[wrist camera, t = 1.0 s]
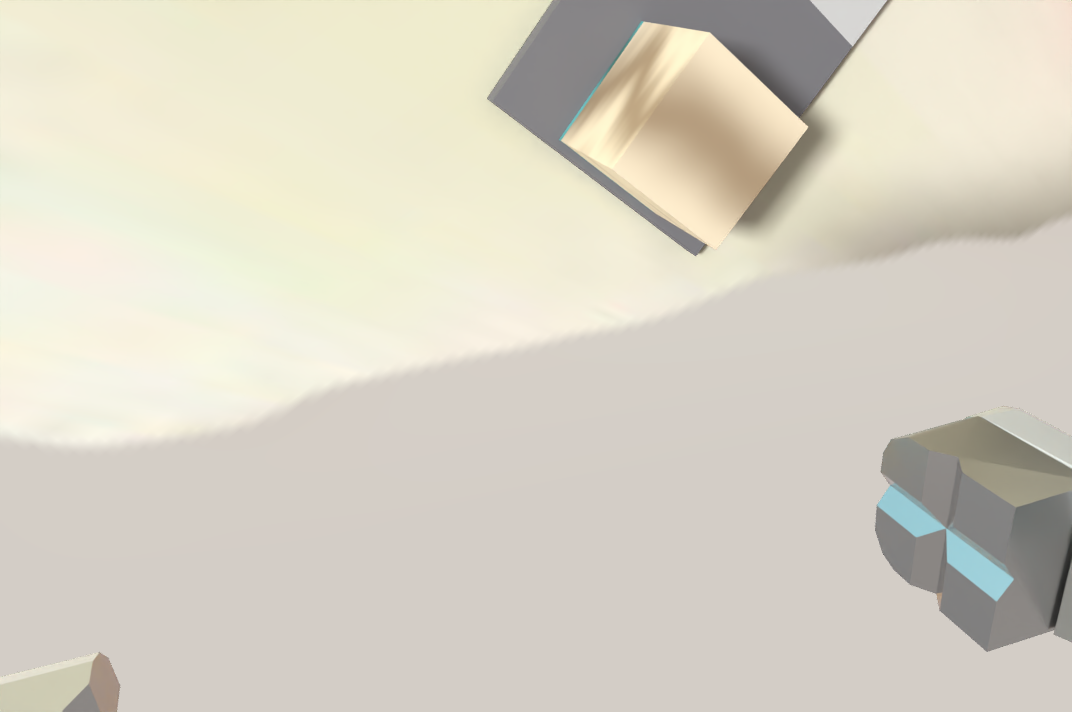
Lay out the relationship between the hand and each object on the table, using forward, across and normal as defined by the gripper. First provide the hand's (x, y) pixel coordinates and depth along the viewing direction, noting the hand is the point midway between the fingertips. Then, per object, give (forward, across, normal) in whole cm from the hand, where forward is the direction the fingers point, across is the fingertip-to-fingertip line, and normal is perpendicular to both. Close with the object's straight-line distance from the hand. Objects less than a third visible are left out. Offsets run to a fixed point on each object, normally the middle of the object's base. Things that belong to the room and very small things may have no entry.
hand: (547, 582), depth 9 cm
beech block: (+35, -18, +3) cm, 39 cm away
